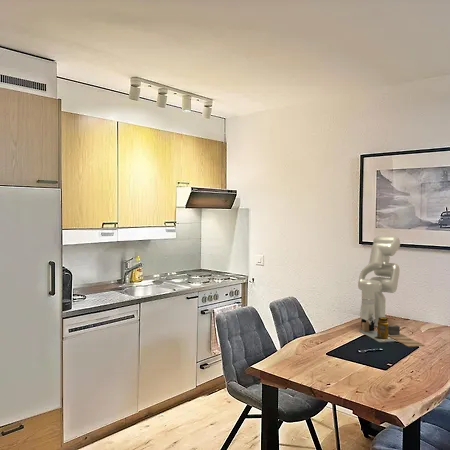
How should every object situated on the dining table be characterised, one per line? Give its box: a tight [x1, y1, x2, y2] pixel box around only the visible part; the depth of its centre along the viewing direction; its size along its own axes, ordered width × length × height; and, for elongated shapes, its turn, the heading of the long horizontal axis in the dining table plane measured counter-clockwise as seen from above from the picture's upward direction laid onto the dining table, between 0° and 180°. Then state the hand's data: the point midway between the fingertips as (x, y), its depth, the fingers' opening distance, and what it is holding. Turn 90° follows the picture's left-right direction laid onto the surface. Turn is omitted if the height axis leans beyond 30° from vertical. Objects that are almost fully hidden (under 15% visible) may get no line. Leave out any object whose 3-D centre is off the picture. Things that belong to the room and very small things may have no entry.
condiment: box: [373, 316, 390, 341], centre depth 261 cm, size 7×8×12 cm
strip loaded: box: [358, 321, 396, 344], centre depth 267 cm, size 24×10×6 cm, turn 11°
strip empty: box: [388, 325, 425, 348], centre depth 259 cm, size 24×10×6 cm, turn 11°
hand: (367, 328), depth 277 cm, fingers open, 9 cm apart
